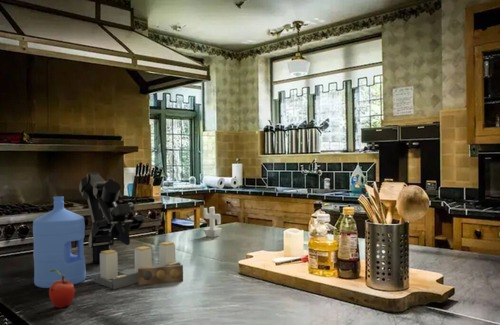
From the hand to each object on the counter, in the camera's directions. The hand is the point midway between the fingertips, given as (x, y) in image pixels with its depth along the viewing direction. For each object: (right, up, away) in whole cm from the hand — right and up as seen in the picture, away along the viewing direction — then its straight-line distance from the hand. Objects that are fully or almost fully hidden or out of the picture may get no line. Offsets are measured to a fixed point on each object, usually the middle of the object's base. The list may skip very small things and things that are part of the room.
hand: (128, 244), depth 148 cm
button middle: (+7, -9, -6) cm, 12 cm away
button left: (-3, -9, -10) cm, 14 cm away
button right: (+13, -8, +2) cm, 16 cm away
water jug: (-20, -11, -9) cm, 24 cm away
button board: (+5, -10, -4) cm, 12 cm away
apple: (-9, -11, -33) cm, 36 cm away
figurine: (+23, -9, +70) cm, 74 cm away
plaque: (+14, -10, -12) cm, 21 cm away
